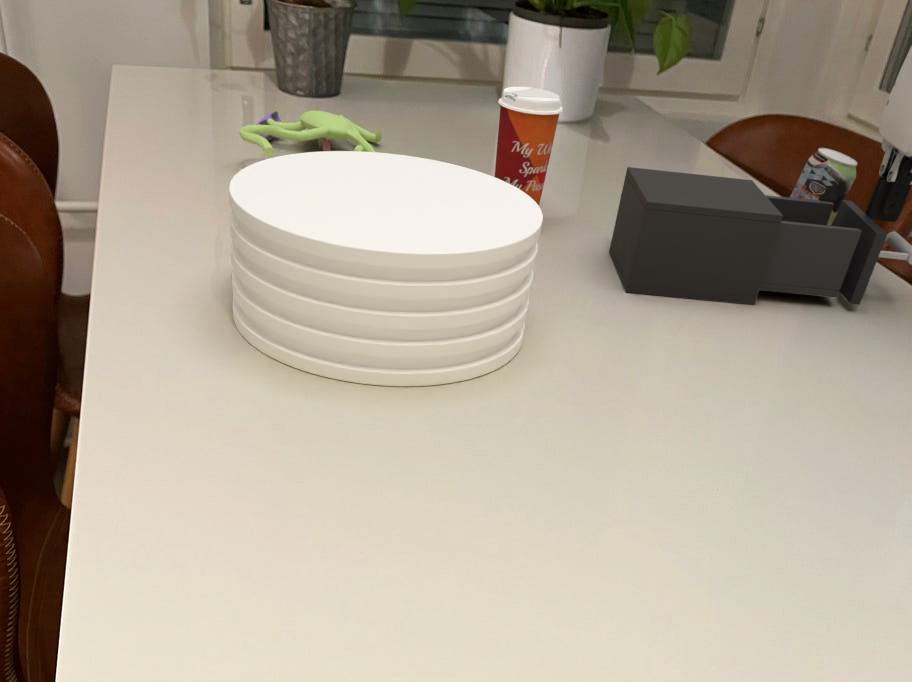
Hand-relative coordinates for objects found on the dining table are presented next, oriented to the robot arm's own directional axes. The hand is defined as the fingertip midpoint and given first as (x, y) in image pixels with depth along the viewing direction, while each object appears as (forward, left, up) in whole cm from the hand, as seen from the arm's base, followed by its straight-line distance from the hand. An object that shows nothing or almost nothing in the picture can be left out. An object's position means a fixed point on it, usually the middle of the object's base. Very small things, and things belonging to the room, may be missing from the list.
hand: (880, 217), depth 109 cm
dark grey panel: (+5, 0, -8) cm, 9 cm away
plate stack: (+55, +20, -9) cm, 59 cm away
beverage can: (+3, -13, -9) cm, 16 cm away
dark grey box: (+21, 0, -9) cm, 22 cm away
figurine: (+65, -32, -9) cm, 73 cm away
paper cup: (+39, -16, -9) cm, 43 cm away
